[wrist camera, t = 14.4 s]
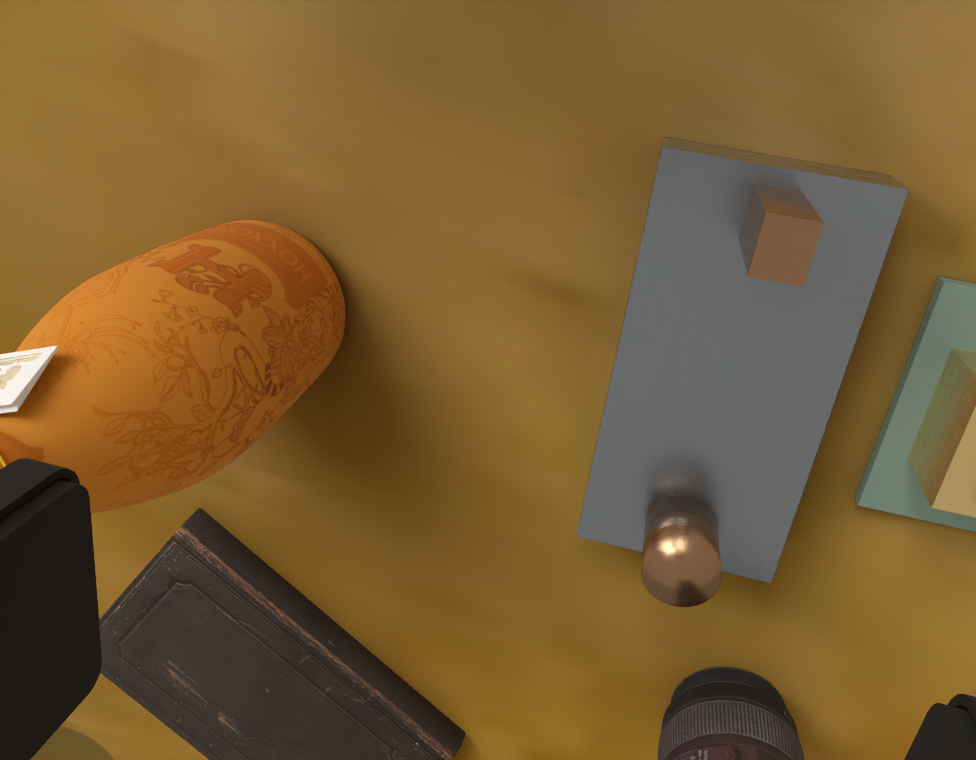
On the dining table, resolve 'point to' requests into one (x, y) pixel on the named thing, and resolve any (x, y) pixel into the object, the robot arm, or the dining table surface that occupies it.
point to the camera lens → (728, 719)
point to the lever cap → (949, 439)
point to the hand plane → (731, 359)
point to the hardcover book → (257, 663)
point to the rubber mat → (919, 407)
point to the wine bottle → (172, 361)
